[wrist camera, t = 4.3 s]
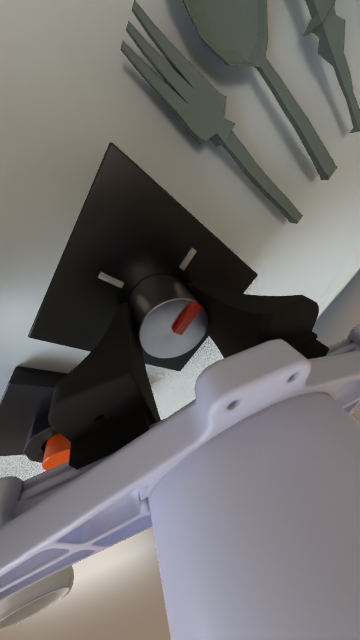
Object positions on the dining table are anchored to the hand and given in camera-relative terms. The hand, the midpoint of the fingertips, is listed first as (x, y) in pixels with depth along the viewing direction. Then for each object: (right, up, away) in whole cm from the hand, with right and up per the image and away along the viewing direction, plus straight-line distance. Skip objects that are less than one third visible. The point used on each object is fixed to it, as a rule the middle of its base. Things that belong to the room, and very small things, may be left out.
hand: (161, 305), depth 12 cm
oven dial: (0, 0, 0) cm, 0 cm away
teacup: (-27, -48, +27) cm, 61 cm away
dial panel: (-1, +2, +3) cm, 4 cm away
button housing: (-10, -10, +7) cm, 16 cm away
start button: (-9, -12, +5) cm, 16 cm away
